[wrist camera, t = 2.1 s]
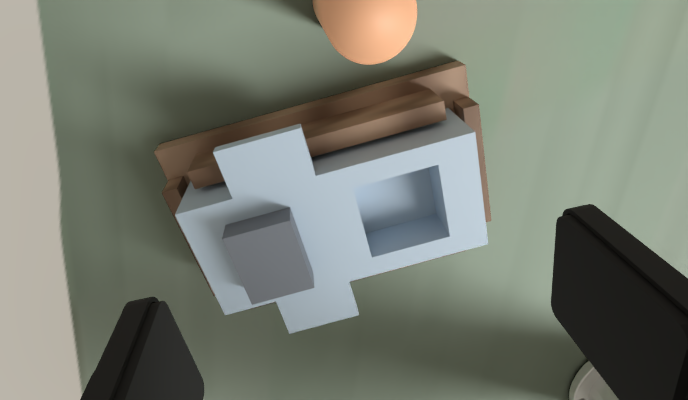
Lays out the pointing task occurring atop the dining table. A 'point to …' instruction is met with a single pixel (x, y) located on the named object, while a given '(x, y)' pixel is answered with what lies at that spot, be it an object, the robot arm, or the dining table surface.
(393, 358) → the dining table surface
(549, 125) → the dining table surface
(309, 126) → the cradle
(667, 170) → the dining table surface
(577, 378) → the robot arm
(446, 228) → the pale blue peg socket
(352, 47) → the tail peg
